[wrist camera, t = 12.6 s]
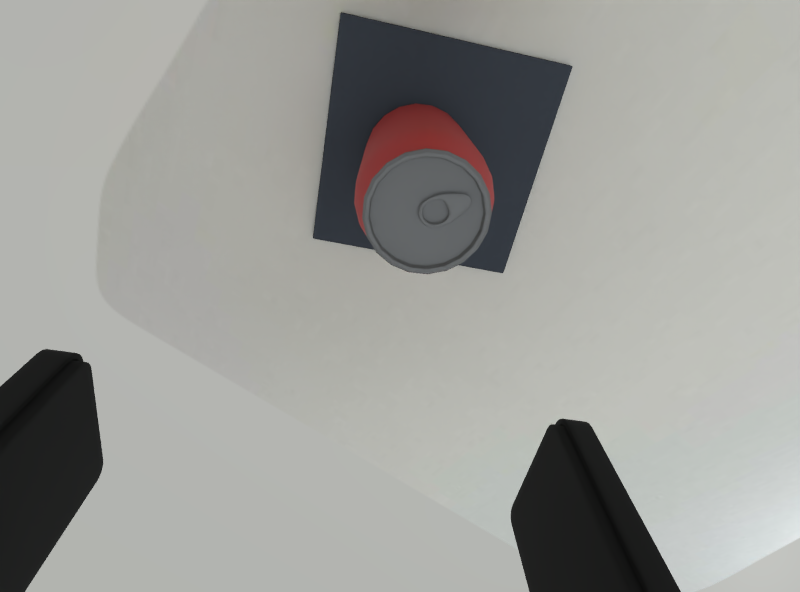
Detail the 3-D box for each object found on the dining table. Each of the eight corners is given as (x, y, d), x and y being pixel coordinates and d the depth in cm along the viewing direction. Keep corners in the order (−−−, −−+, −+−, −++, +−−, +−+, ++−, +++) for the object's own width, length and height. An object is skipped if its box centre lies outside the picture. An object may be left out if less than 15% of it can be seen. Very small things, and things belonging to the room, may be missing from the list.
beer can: (478, 186, 32) (520, 258, 21) (386, 219, 33) (382, 303, 22) (449, 86, 29) (481, 111, 18) (349, 124, 30) (324, 170, 19)
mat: (313, 236, 34) (312, 238, 34) (341, 12, 27) (340, 12, 27) (502, 271, 35) (503, 273, 35) (570, 65, 29) (572, 66, 28)
